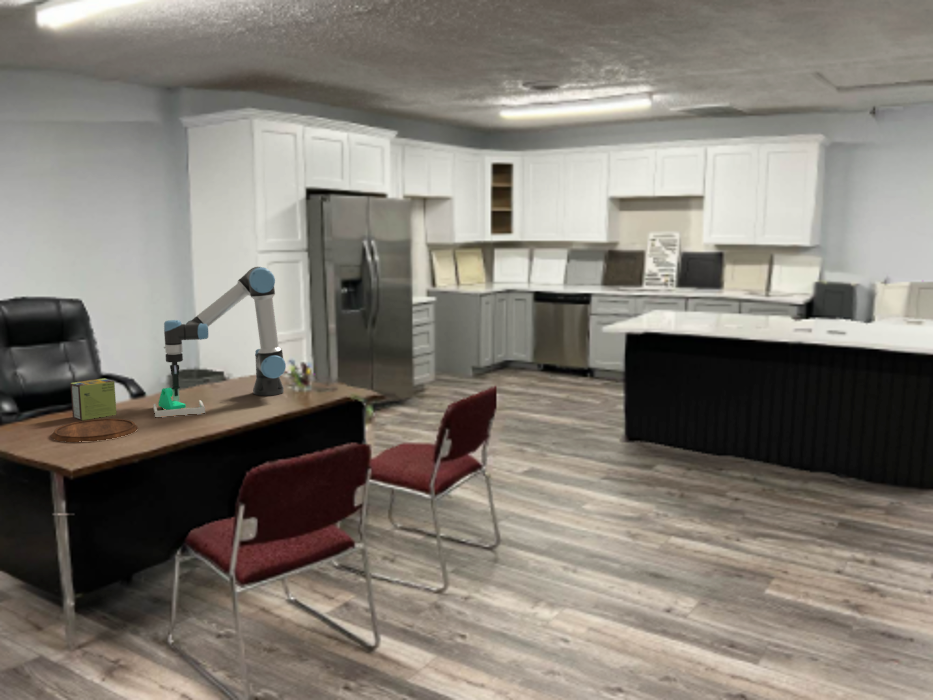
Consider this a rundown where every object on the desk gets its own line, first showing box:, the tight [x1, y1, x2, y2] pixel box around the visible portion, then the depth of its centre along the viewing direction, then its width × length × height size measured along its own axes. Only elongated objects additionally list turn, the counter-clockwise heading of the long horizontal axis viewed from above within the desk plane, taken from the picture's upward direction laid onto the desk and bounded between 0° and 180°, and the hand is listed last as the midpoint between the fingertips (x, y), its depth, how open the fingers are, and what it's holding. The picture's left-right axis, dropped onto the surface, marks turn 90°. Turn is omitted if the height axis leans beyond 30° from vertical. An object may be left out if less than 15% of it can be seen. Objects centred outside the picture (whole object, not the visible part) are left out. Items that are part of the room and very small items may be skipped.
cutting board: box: [51, 418, 139, 443], centre depth 318 cm, size 32×32×2 cm
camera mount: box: [157, 387, 187, 410], centre depth 360 cm, size 12×8×10 cm, turn 47°
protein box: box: [69, 378, 117, 421], centre depth 346 cm, size 10×15×16 cm
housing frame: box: [152, 399, 206, 418], centre depth 355 cm, size 21×16×3 cm
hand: (176, 402), depth 368 cm, fingers closed
